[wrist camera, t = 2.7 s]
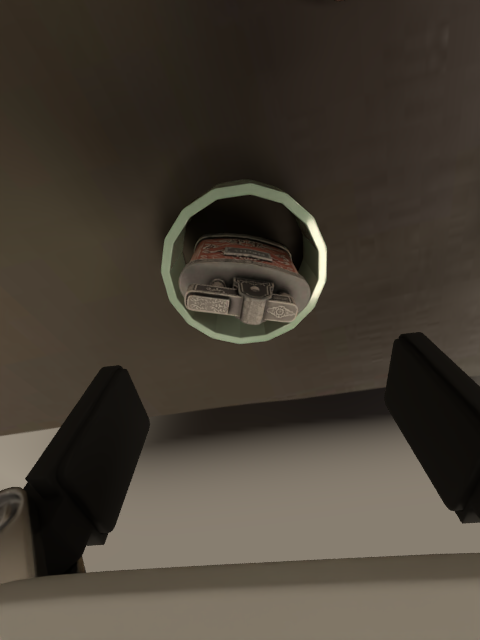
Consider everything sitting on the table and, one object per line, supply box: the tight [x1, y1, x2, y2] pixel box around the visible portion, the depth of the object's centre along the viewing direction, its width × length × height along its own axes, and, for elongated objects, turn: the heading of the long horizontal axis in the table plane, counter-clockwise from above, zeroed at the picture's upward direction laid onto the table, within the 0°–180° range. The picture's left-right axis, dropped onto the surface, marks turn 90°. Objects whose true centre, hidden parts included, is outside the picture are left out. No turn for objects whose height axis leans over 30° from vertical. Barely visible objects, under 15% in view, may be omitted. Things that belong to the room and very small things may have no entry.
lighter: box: [179, 233, 311, 325], centre depth 19 cm, size 8×3×10 cm, turn 82°
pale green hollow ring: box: [161, 179, 327, 344], centre depth 21 cm, size 11×11×5 cm
